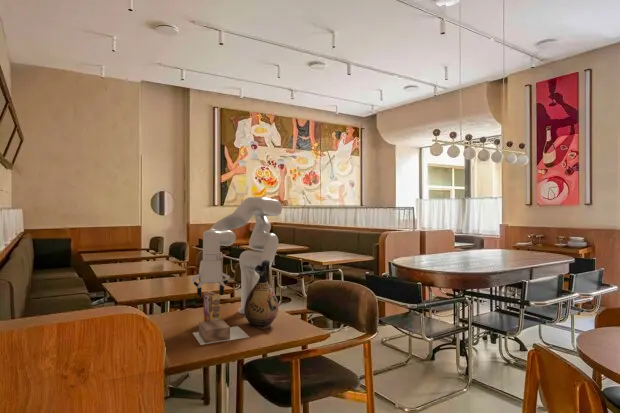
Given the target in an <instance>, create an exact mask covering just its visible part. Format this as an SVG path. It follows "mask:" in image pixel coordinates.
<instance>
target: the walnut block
mask: <svg viewBox="0 0 620 413" xmlns="http://www.w3.org/2000/svg"><path fill="white" fill-rule="evenodd" d="M230 327H231V326H229V324H227V322H226V321H225V320H224V319H222V318H220V320H213V321H205V322H203V321H199V322H198V332H199V335H200V337H201V338H202V339H203V341H204V342H205V343H209V342H216V341H222V340H228V339H230ZM228 341H229V340H228ZM222 342H223V341H222ZM216 343H217V342H216ZM209 344H210V343H209Z"/></svg>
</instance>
